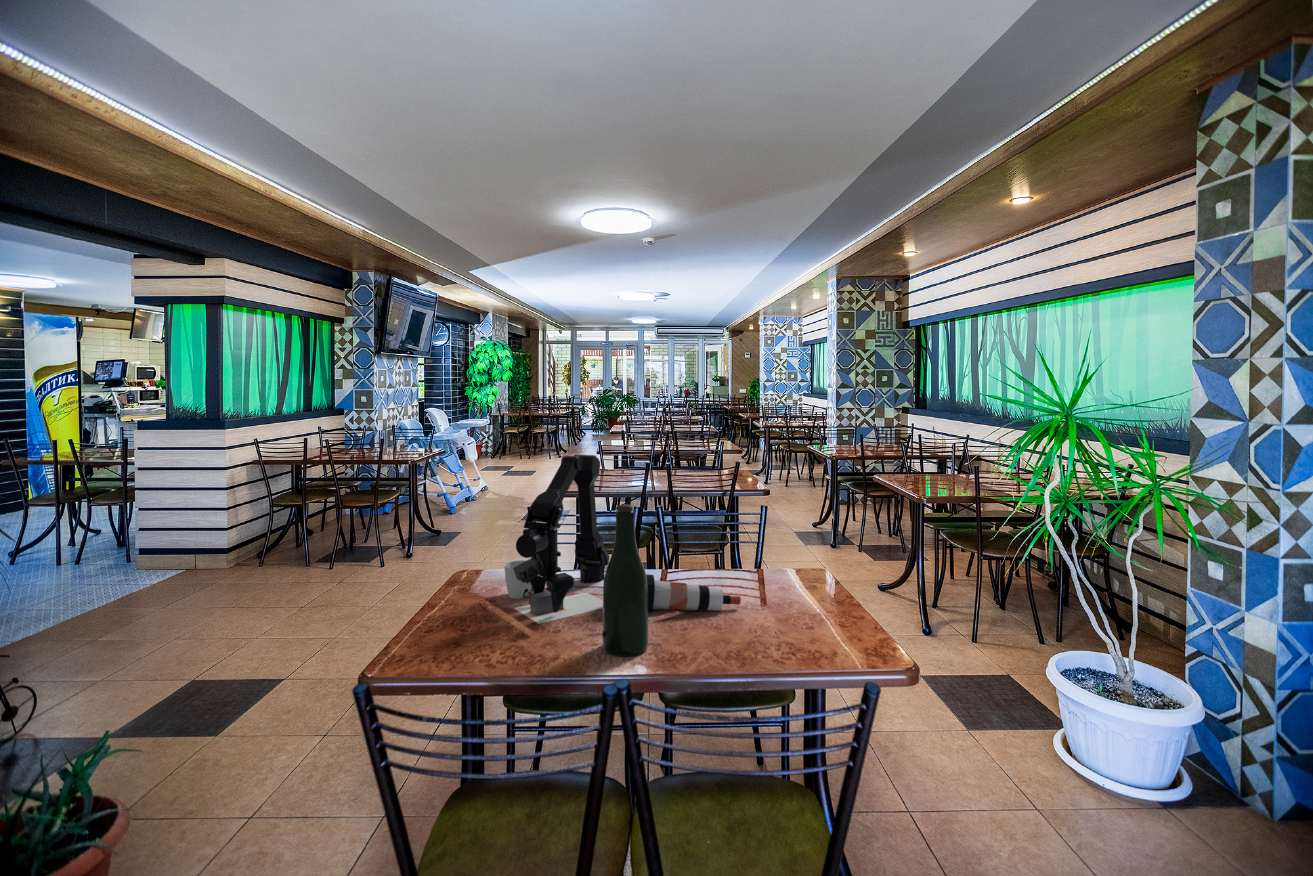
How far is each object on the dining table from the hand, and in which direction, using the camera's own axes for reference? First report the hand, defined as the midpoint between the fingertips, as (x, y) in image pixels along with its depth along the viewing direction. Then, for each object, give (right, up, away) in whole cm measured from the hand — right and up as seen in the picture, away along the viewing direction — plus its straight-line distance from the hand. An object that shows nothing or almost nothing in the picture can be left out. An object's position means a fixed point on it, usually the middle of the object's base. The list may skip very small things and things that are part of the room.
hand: (547, 607), depth 170 cm
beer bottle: (+21, -4, -21) cm, 30 cm away
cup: (-10, -1, +13) cm, 16 cm away
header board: (+4, -2, +3) cm, 5 cm away
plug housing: (0, -1, 0) cm, 1 cm away
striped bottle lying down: (+34, -2, +3) cm, 34 cm away
